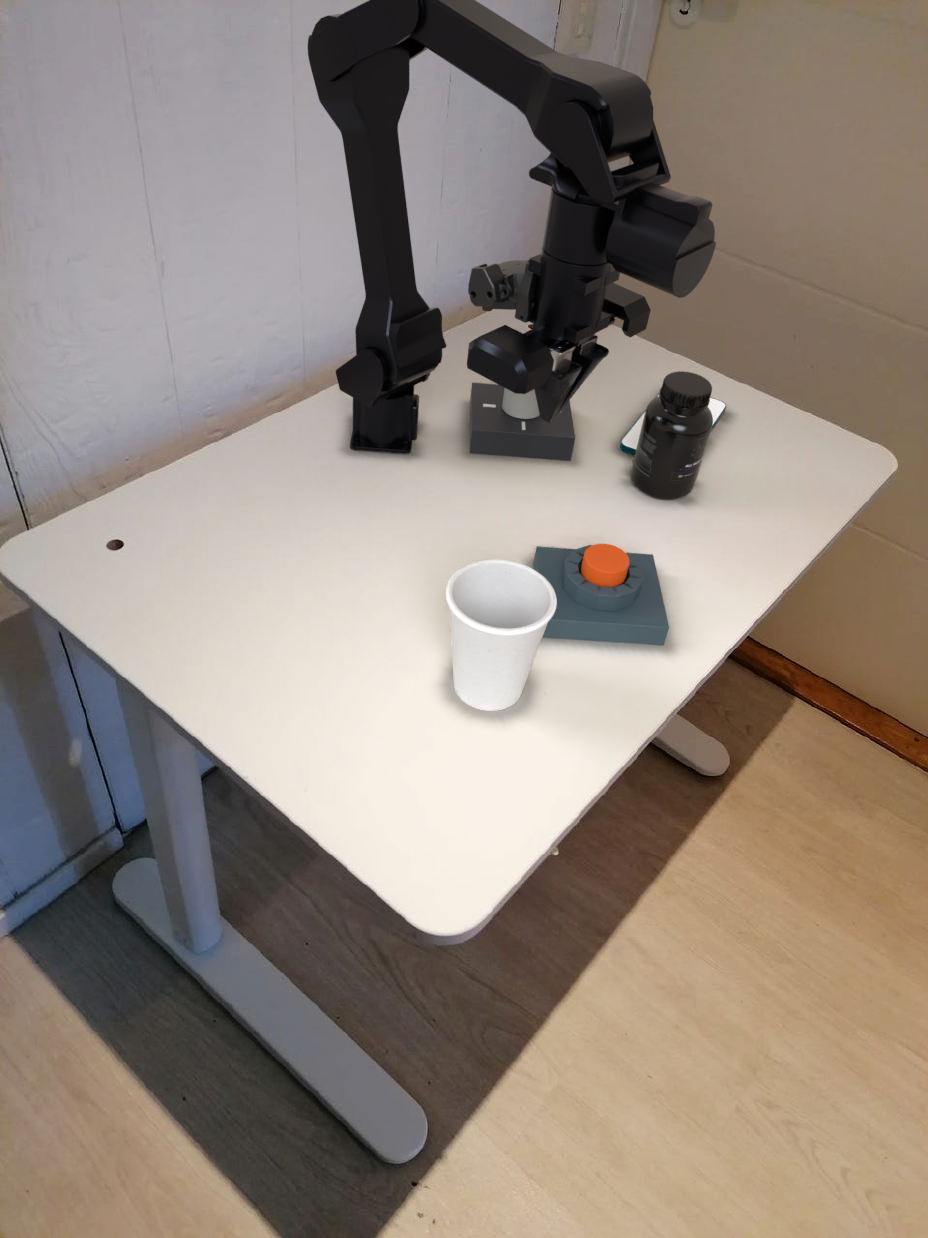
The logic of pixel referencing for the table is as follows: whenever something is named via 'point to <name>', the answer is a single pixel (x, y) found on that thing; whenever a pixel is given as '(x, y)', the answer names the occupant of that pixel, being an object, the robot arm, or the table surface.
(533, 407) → the timer knob
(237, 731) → the table surface
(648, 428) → the supplement bottle
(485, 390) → the timer panel
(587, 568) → the button
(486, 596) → the dixie cup
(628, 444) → the smartphone
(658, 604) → the button housing
